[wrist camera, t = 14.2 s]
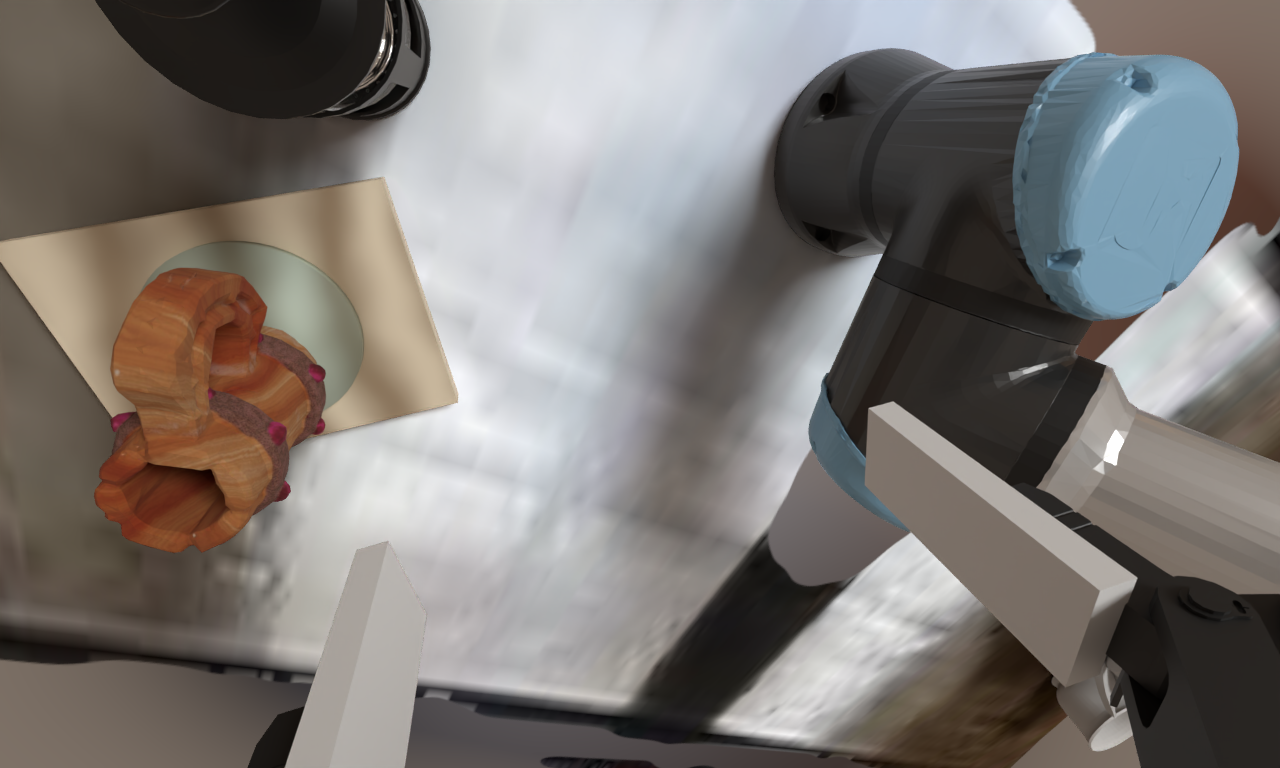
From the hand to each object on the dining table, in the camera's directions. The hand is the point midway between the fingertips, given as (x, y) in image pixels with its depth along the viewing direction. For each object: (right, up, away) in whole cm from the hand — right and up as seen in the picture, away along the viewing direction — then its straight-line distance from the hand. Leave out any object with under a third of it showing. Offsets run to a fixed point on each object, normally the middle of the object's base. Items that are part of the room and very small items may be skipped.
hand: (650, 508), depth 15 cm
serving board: (-27, +7, +24) cm, 37 cm away
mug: (-25, +6, +22) cm, 34 cm away
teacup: (+78, -50, +84) cm, 125 cm away
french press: (-18, +25, +18) cm, 35 cm away
